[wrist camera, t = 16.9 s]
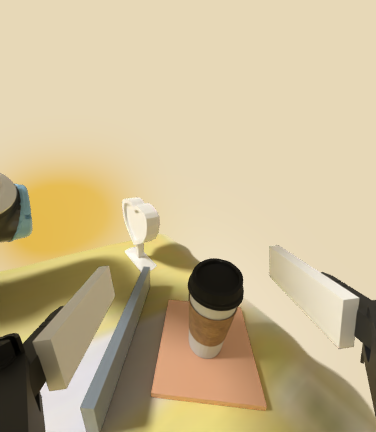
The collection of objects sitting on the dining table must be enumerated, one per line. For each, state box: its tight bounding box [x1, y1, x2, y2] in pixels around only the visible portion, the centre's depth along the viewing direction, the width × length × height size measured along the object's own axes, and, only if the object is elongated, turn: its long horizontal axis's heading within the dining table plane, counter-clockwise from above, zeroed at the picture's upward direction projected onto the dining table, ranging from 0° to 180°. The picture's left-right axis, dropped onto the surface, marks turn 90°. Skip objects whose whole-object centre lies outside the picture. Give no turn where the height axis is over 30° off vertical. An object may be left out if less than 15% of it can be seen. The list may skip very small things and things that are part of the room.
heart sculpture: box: [122, 198, 160, 272], centre depth 50 cm, size 16×5×18 cm, turn 40°
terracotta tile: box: [151, 300, 267, 411], centre depth 32 cm, size 16×16×1 cm
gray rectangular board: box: [80, 266, 150, 432], centre depth 31 cm, size 2×24×6 cm, turn 177°
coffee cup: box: [188, 259, 244, 359], centre depth 29 cm, size 8×8×15 cm
